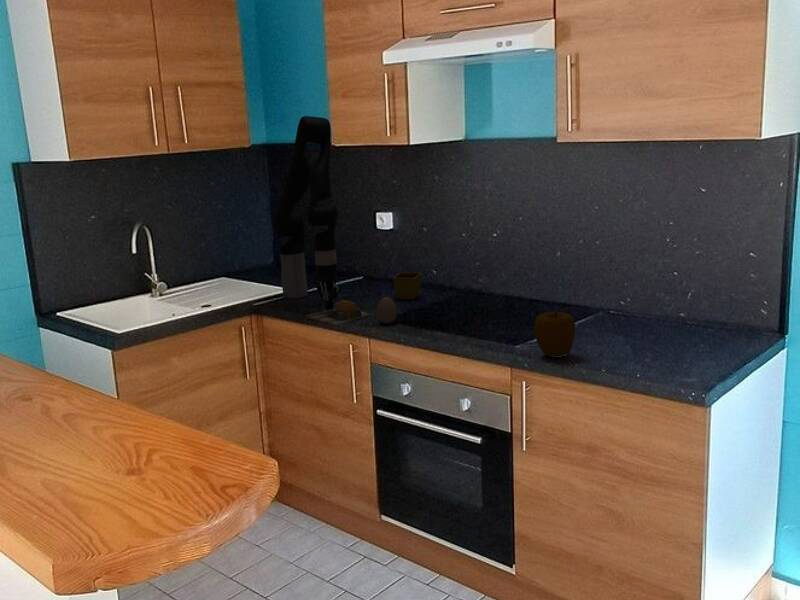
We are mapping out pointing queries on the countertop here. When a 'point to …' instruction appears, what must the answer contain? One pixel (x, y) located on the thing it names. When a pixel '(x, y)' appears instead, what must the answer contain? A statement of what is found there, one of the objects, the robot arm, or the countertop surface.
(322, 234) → the robot arm
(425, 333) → the countertop surface
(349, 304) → the plug block
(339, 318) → the header board
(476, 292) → the countertop surface
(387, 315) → the egg
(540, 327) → the apple
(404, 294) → the flower pot
